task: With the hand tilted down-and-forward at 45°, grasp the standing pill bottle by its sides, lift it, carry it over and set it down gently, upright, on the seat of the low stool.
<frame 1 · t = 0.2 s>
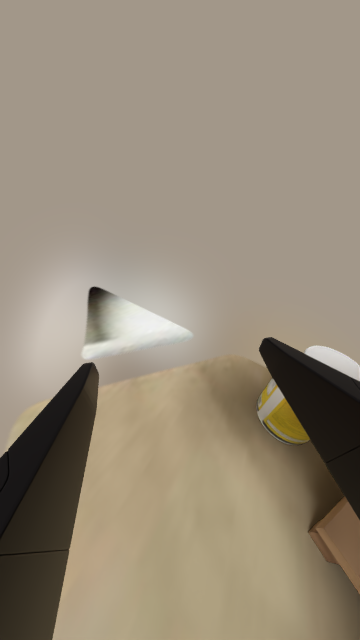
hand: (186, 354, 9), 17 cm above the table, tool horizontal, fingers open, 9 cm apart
pill bottle: (279, 417, 22), on the table
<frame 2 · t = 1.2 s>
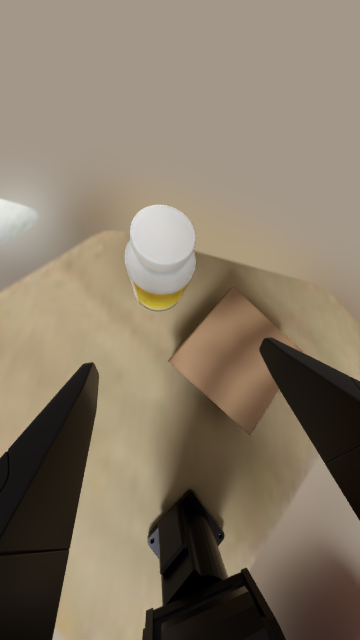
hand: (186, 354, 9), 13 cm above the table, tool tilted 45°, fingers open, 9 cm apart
pill bottle: (157, 290, 23), on the table
stool: (225, 354, 23), on the table
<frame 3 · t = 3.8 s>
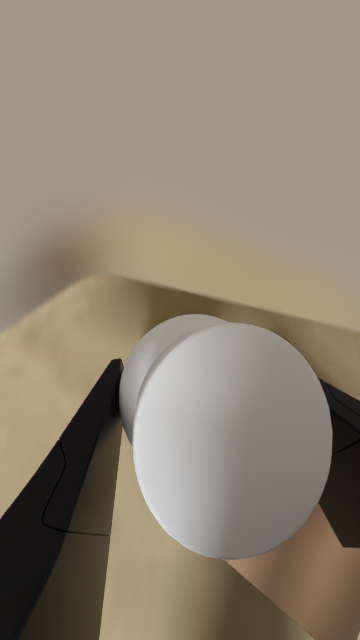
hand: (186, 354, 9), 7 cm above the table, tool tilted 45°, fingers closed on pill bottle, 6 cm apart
pill bottle: (172, 366, 15), on the table, touching gripper
stool: (276, 464, 15), on the table
when the fingers open (11 cm above the table, at t = 6.8 s): pill bottle stays where it is, resting on stool.
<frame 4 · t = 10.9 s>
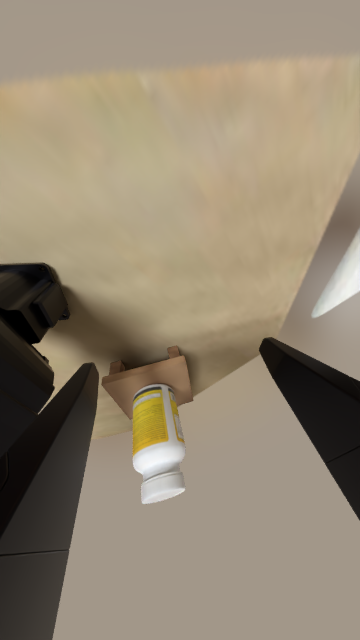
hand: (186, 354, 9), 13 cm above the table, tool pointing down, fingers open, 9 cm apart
pill bottle: (153, 392, 26), point 4 cm above the table, touching stool
stool: (152, 373, 30), on the table
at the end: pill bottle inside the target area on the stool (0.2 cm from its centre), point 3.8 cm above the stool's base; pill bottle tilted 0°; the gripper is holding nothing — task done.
